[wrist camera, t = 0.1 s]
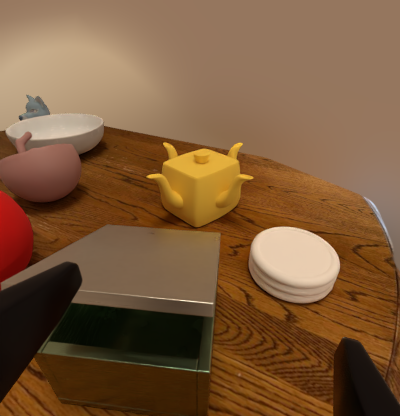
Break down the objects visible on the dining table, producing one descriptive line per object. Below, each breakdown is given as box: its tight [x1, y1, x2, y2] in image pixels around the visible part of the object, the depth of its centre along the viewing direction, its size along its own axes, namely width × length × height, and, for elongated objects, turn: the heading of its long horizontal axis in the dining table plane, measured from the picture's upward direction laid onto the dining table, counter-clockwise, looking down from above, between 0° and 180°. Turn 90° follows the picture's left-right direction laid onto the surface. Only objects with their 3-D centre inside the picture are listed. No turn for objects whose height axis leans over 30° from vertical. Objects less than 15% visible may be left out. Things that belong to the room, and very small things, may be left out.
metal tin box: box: [34, 248, 220, 416], centre depth 24 cm, size 13×12×7 cm
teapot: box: [147, 143, 253, 227], centre depth 43 cm, size 15×14×10 cm
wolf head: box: [19, 95, 50, 121], centre depth 78 cm, size 6×9×10 cm
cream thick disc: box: [249, 227, 340, 303], centre depth 32 cm, size 10×10×4 cm
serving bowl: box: [6, 114, 104, 155], centre depth 65 cm, size 21×21×7 cm
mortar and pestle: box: [0, 132, 81, 202], centre depth 45 cm, size 12×12×12 cm
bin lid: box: [1, 225, 221, 317], centre depth 21 cm, size 13×12×1 cm
